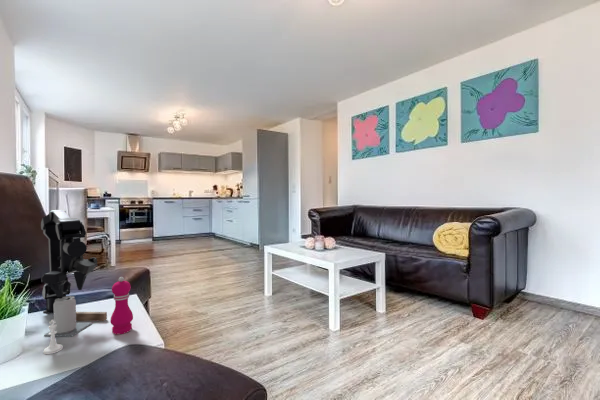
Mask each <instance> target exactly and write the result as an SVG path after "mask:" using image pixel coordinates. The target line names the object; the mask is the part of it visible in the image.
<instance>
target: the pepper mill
mask: <svg viewBox="0 0 600 400" xmlns="http://www.w3.org/2000/svg"><path fill="white" fill-rule="evenodd" d="M117 280H118V281H116V282H114V284H113V285H112V286H111V293H112V294H113V300H114V301H115V304H114V309H113V312H112V314H111V317H110V325H112V327H111V333H112V334H113V335H124V334H126V333H128V332H130V331H131V330H132V327H133V325H132V321H133V320H134V314H133V312H132V310H131V308H130V306H129V301H128V300H129V298H130V291H131V283H130V282H129V281H128V280H125V278H124V277H123V276H120V277H119V278H118V279H117Z"/></svg>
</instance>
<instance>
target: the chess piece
mask: <svg viewBox="0 0 600 400" xmlns="http://www.w3.org/2000/svg"><path fill="white" fill-rule="evenodd" d="M54 323H56V321H54V318H53V319H50V321H48V324H50V325H48V329H49V332H50V331H51V332H50V333H49V335H51V336H50V340H49V341H50V342H49V345H48V346H47V347H45V348H44V349H43V352H42V354H44V355H52V354H55V353H57V352H60V351H62V350H63V348H64V347H63V345H62V344H60V343H57V341H56V336H55V334H56V333H57V331H55V329H56V326H57V325H56V324H54Z"/></svg>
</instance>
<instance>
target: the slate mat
mask: <svg viewBox="0 0 600 400" xmlns="http://www.w3.org/2000/svg"><path fill="white" fill-rule="evenodd" d="M92 324H93V322H76V328H75V329H74V330H73V331H71V332H69V333H65V334H57V333H56V334H55V337H68V338H69V337H70V338H71V337H74V336H75V335H76V334H78V333H80V332H82V331H83V330H85V329H86V328H88V327H90V326H91V325H92ZM50 332H51V331H50V330H49V331H48V332H46V333H44V335H43V337H51V335H49V333H50Z"/></svg>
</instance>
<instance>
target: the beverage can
mask: <svg viewBox="0 0 600 400" xmlns="http://www.w3.org/2000/svg"><path fill="white" fill-rule="evenodd" d="M76 302H77V300H76V298H75V296H74V295H66V297H63V298H62V299H59V298H58V299H56V300H55V302H54V304H53V306H54V313H53V319H54V321H56V323H54V324H56V325H57V326H56V329H55V331H57V334H65V333H69V332H71V331H73V330H74V329H75V328H76V323H77V321H76V312H77V303H76Z"/></svg>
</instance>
